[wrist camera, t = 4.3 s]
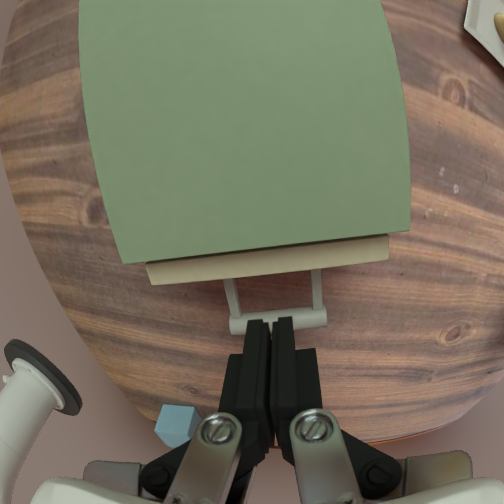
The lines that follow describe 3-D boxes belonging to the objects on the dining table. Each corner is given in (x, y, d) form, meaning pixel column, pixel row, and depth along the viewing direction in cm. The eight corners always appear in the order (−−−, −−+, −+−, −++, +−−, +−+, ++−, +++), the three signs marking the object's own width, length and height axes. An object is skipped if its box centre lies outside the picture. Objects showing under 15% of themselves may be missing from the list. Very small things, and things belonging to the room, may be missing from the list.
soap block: (174, 421, 32) (167, 446, 28) (163, 404, 30) (153, 430, 26) (204, 423, 31) (198, 450, 27) (194, 406, 30) (187, 435, 26)
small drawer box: (355, 187, 18) (410, 231, 10) (178, 210, 20) (122, 264, 12) (322, -4, 12) (349, -71, 4) (146, 27, 14) (79, -13, 6)
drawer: (352, 287, 20) (377, 349, 14) (206, 303, 22) (184, 365, 15) (324, 22, 12) (349, -26, 6) (152, 52, 14) (98, 24, 8)
